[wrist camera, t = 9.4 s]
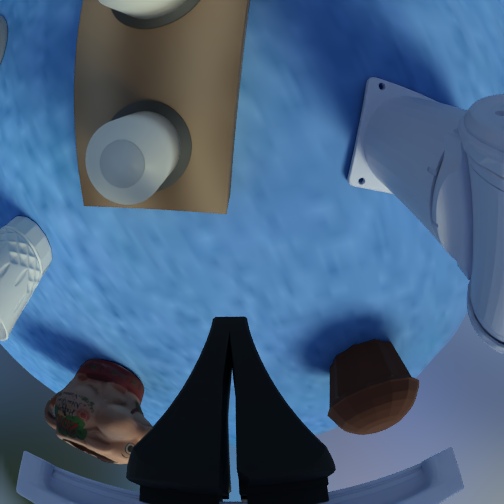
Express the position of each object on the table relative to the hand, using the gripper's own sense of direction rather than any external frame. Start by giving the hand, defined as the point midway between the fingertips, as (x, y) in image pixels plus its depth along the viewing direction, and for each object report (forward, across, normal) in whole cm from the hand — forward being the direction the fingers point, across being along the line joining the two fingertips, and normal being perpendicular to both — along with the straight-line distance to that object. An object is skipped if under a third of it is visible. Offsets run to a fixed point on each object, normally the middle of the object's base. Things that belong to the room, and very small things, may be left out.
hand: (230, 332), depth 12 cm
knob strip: (+10, +4, -17) cm, 20 cm away
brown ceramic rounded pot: (+13, +21, +26) cm, 36 cm away
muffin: (+10, -16, +19) cm, 27 cm away
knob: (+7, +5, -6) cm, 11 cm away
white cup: (+12, +22, +2) cm, 25 cm away
